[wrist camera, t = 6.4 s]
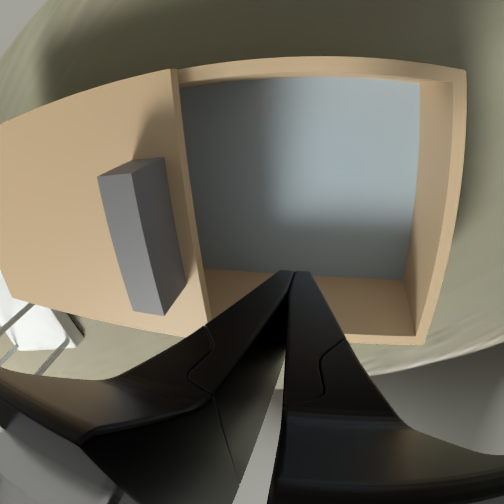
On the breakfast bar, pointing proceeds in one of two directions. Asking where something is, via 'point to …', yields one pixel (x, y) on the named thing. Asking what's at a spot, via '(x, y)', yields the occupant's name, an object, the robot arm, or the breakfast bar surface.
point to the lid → (104, 208)
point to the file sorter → (35, 327)
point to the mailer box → (328, 182)
